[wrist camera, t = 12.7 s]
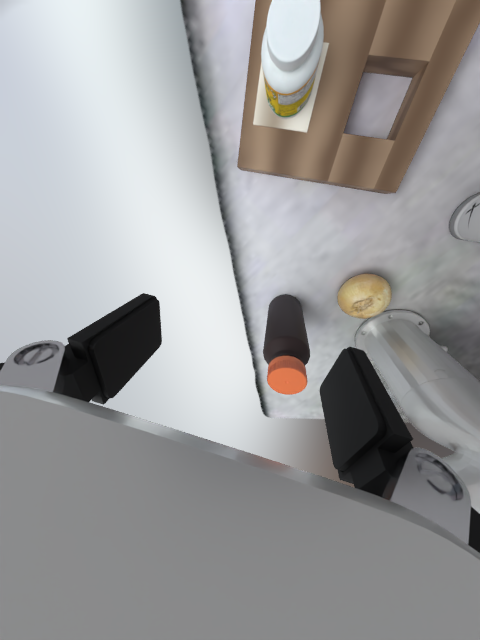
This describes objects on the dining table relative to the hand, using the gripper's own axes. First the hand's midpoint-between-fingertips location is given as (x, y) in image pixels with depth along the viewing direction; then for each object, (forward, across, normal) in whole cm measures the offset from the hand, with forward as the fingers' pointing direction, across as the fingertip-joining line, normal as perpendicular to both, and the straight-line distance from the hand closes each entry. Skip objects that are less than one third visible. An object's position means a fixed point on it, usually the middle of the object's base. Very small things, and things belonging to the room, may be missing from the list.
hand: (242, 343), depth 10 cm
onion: (+30, -18, +4) cm, 35 cm away
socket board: (+30, -3, -18) cm, 35 cm away
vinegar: (+30, -6, +12) cm, 33 cm away
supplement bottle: (+26, +3, -18) cm, 32 cm away
